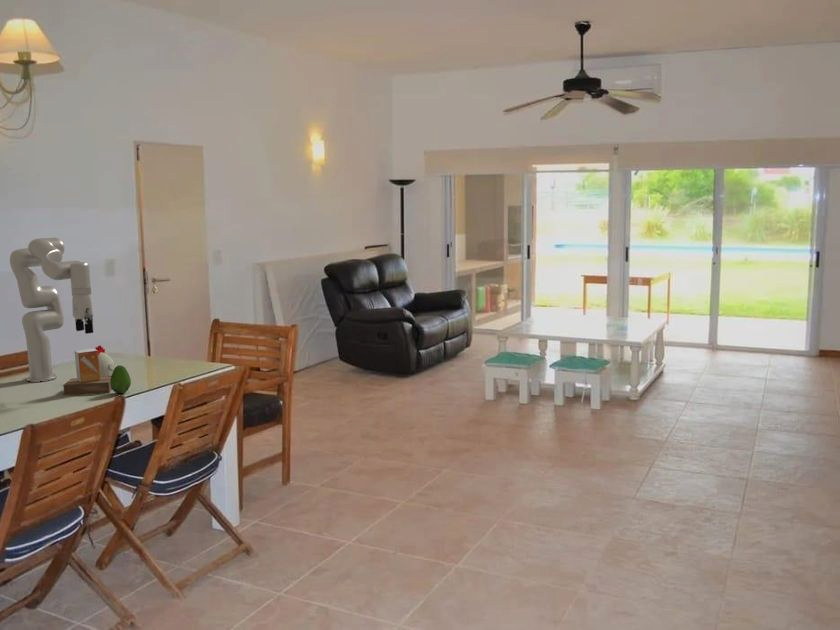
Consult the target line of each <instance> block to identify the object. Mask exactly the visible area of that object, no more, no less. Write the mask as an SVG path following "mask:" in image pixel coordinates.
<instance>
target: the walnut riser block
mask: <svg viewBox="0 0 840 630" xmlns="http://www.w3.org/2000/svg"><path fill="white" fill-rule="evenodd" d="M110 379H111V377H100V380H96V381H89V382H83V383H81V382H79V381H78V380H77V377H76V378H71V379H69V380H68V381H67V382H65V383H64V384H63V395H64V396H80V395H95V394H97V395H99V394H110V393H111V392H112V391H113V390H112V388H111V385H110ZM111 390H112V391H111ZM110 391H111V392H110Z"/></svg>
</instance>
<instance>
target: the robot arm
mask: <svg viewBox="0 0 840 630" xmlns="http://www.w3.org/2000/svg"><path fill="white" fill-rule="evenodd" d="M64 253H65V245H64V242H63V241H62V239H60V238H58V237H43V238H42V237H41V238H39V237H38V238H35V239H32V240H31V241H30V242H29V243H28V246H27V247H26V248H19V249H16V250H13V251H12V252H11V254H10V256H9V266H10V268H11V270H12V272H13V275H14V276H15V279H16V281H17V283H16V284H17V287H18V292H19V296H20V301H21V304H22V306H23V307H24V308H26V309H38V308H39V309H40V308H46V309H40V310H39V309H38V310H32V311H31V310H30V311H28V312H26V313H24V314H23V316H22V317H21V324H22V328H23V330H24V335H25V341H26V349H27V360H28V370H29V371H28V372H29V376H27V377H26V380H27V381H26V382H28V381H30V382H29V383H37V382H38V383H39V382H40V381H42V382H48V380H49V381H52V379H53V380H55V379H57V374H56V373H54V372H53V362H52V352H51V340H50V338H49V337H48V335H46V333H44V332H46V331H52V330H58V329H60V328H62V327H63V326H64V323H65V320H64V314H63V310H62V309H63V308H62V304H61V300H60V296H59V292H58V291H57V289H56V288H55V287H54V286H52V285H43V286H41V285H40V284H39V283H40V282H39V279H38V276H37V274H36V273H35V272H34V271H33V270H32V269H30V268H32V267H33V268H34V267H41V270H42V272H43V274H44V275H45V276H47V277H48V278H50V279H52V280H54V281H62V280H70V288H71V296H72V300H71V301H72V304H71V305H72V318H74V321H75V331H76V332H81V331H84V333H85V335H86V334H93V333H94V321H93V320H94V318H93V316H94V315H93V305H92V299H91V295H92V287H91V286H92V285H91V274H90V265H89V262H85V261H79V260H70V261H69V260H65V261H62V260H63V254H64Z"/></svg>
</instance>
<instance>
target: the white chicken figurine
mask: <svg viewBox="0 0 840 630" xmlns="http://www.w3.org/2000/svg"><path fill="white" fill-rule="evenodd" d="M94 349H96V350H98V360H99V371H100V377H111V376H112V373H113V371H114V369H115V367H116V366H117V364H116V362H114V360H113V358H111V357H110V356H109V355H108V354H107V353H105V352H106V349H105V348H104V347H102V345H97V346H96V347H95V348H94Z"/></svg>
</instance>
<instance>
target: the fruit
mask: <svg viewBox="0 0 840 630" xmlns="http://www.w3.org/2000/svg"><path fill="white" fill-rule="evenodd" d="M131 383H132V379H131V376H130V373H129V372H128V370H127V368H126V367H125V366H123V365H116V367H115V369H114V371H113V373H112V376H111V379H110V385H111V388H112V391H113V392H115V393H116V394H118V393H122V394H125V393H126V392H128V390H129V389H130V387H131V385H132V384H131Z"/></svg>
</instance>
